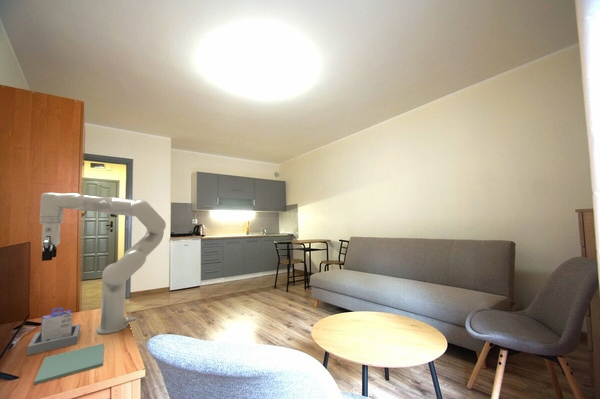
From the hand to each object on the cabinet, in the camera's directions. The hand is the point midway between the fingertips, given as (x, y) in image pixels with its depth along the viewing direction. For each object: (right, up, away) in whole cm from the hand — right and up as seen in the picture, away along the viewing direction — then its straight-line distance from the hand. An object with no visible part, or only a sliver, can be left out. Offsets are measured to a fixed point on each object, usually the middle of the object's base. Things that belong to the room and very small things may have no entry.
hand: (49, 258), depth 113 cm
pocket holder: (+4, -36, -1) cm, 37 cm away
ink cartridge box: (+4, -37, -1) cm, 37 cm away
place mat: (+26, -36, -17) cm, 47 cm away
